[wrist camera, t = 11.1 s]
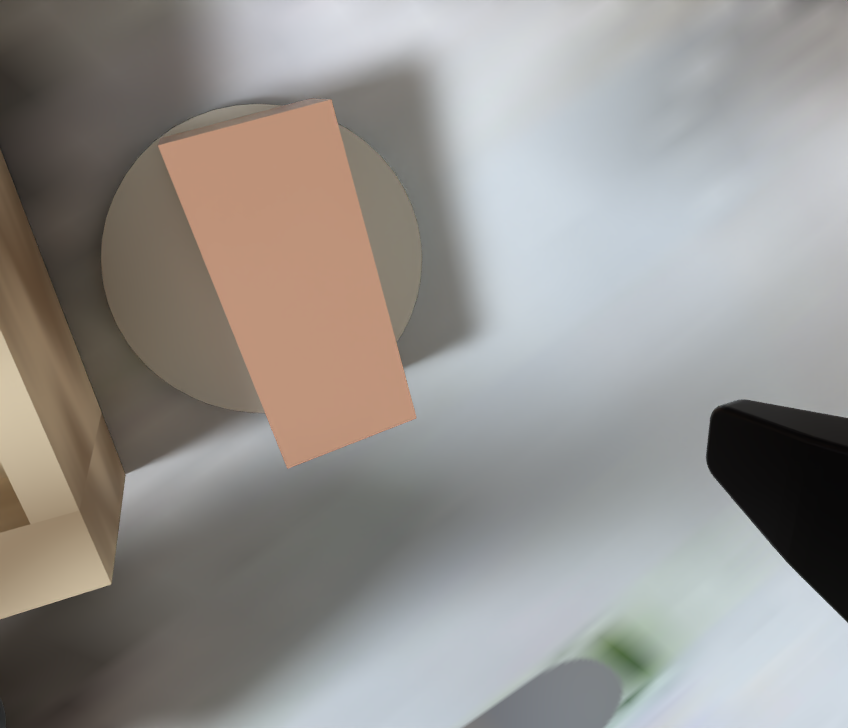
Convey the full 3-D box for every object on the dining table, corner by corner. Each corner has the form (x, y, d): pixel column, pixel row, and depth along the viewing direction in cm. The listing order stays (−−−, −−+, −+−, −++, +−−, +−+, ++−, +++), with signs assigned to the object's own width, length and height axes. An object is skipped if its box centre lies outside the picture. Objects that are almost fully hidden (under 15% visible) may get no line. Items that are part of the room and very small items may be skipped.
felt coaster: (429, 366, 22) (435, 373, 21) (158, 436, 19) (157, 446, 19) (396, 84, 18) (403, 84, 17) (52, 128, 15) (47, 130, 15)
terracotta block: (391, 384, 21) (416, 418, 19) (275, 428, 20) (287, 469, 18) (311, 98, 17) (331, 99, 14) (160, 137, 16) (157, 145, 14)
